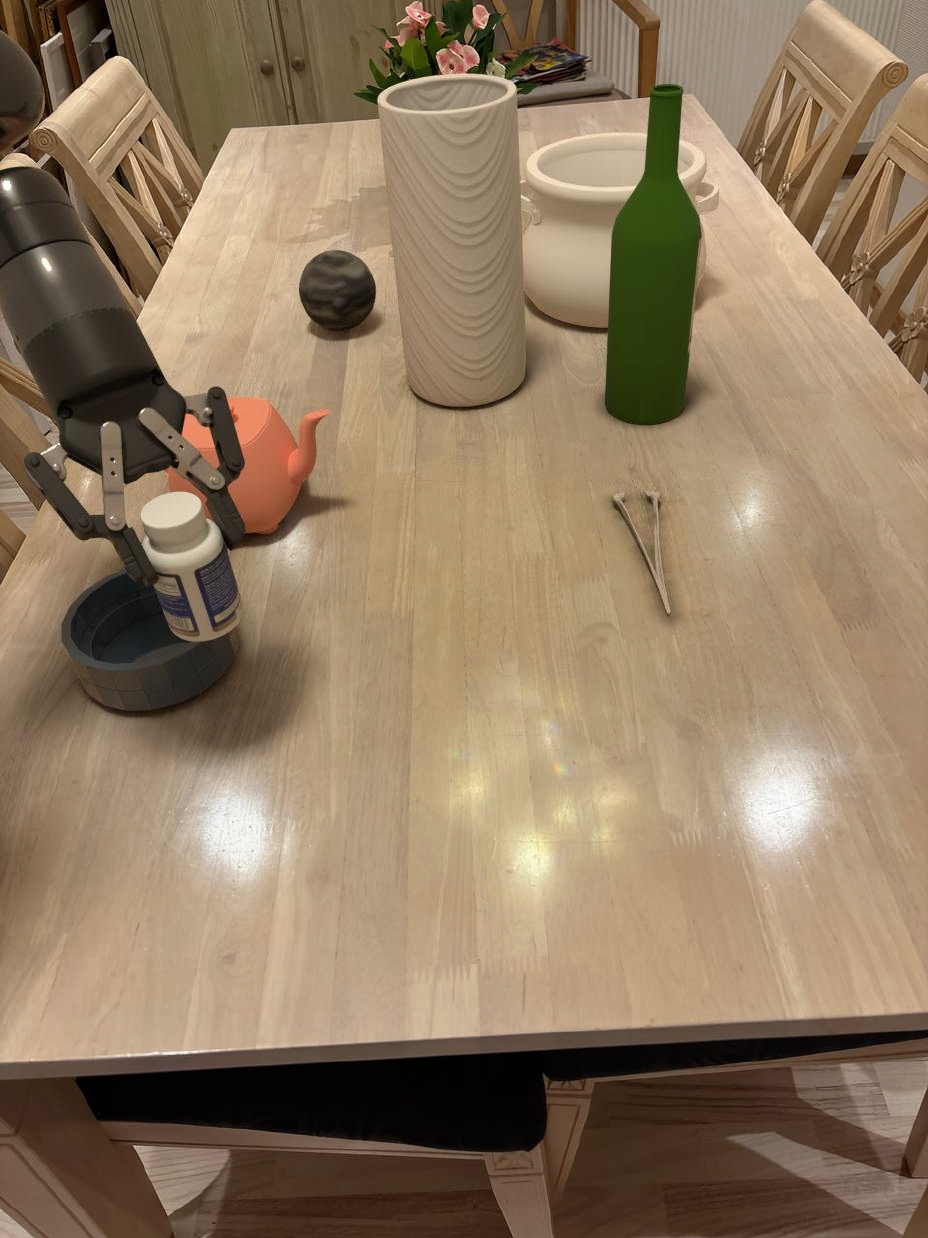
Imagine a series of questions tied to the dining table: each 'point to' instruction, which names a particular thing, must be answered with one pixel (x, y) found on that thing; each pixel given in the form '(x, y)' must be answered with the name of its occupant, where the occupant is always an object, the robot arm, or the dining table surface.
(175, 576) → the pill bottle
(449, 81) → the vase
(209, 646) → the bowl
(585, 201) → the pot
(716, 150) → the dining table surface
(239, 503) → the teapot
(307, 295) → the decorative stone
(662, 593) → the jawbone
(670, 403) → the wine bottle
